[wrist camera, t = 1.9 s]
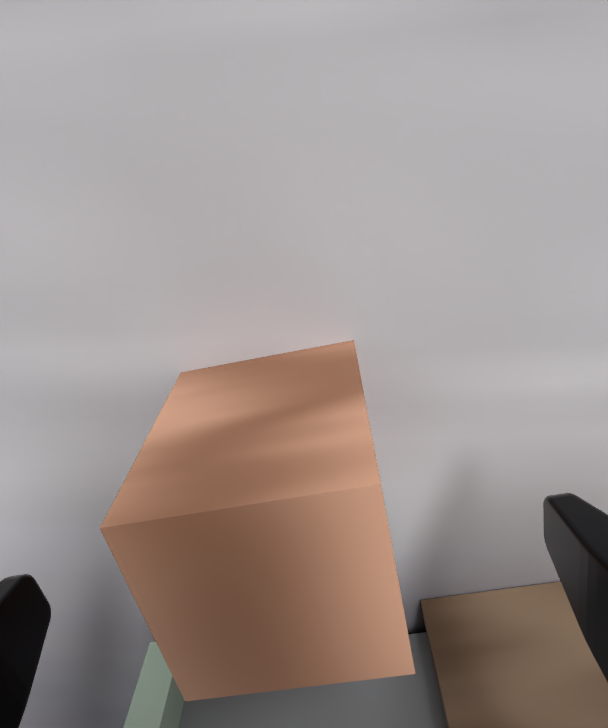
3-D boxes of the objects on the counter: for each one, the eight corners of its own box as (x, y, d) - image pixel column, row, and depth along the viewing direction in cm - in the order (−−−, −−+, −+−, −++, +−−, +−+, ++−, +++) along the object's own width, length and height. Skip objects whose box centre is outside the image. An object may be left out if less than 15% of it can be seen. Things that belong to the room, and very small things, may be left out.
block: (353, 340, 11) (381, 484, 7) (379, 482, 13) (415, 673, 9) (181, 371, 12) (100, 528, 7) (227, 506, 13) (184, 700, 9)
